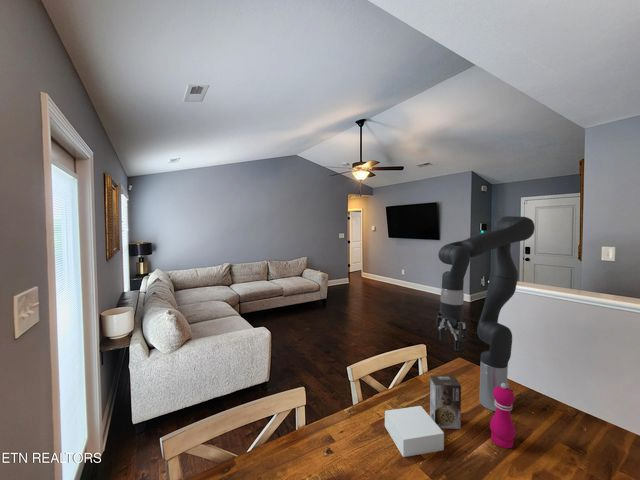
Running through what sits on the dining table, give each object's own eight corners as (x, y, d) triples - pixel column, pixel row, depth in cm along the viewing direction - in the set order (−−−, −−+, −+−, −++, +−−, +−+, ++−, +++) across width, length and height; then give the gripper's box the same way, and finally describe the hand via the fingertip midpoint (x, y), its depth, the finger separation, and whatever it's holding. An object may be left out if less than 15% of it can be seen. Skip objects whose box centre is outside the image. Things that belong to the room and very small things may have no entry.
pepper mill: (511, 436, 99) (513, 379, 97) (518, 452, 92) (520, 391, 90) (487, 431, 101) (489, 375, 100) (492, 446, 94) (494, 387, 93)
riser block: (420, 421, 107) (420, 405, 106) (443, 451, 93) (444, 433, 93) (384, 426, 104) (384, 410, 104) (403, 458, 90) (403, 439, 90)
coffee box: (454, 417, 108) (455, 375, 107) (461, 429, 102) (462, 385, 101) (429, 415, 109) (429, 374, 108) (434, 428, 103) (435, 384, 102)
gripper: (475, 306, 98) (472, 353, 99) (448, 295, 112) (446, 336, 113) (455, 307, 96) (453, 354, 97) (430, 296, 110) (429, 338, 111)
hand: (449, 345), depth 105 cm, fingers open, 8 cm apart
